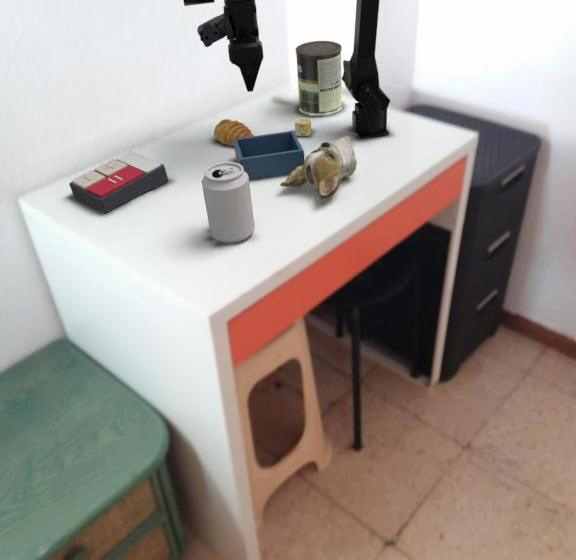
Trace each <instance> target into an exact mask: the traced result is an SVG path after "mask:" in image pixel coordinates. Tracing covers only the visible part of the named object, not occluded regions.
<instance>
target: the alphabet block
mask: <svg viewBox="0 0 576 560" xmlns="http://www.w3.org/2000/svg"><path fill="white" fill-rule="evenodd" d="M294 133H295V134H296V136H297V137H298V136H299V137H310V136H311V133H312V118H299V117H298V118H296V120H295V122H294Z"/></svg>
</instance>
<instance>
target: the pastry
mask: <svg viewBox="0 0 576 560" xmlns="http://www.w3.org/2000/svg"><path fill="white" fill-rule="evenodd" d="M213 136H214V138H215V139H216V140H217V141H218V142H220V143H221V144H223V145H226V146H227V145H228V146H230V147H234V139H238V138H245V137H252V136H254V134H253V133H252V131H251V129H250V128H249V127H248V126H246V125H245V124H244V123H243V122H240V121H238V120H231V119H228V118H227V119H226V118H225V119H221V120H220V121H219V122H218V123H217V124H216V125H215V127H214V129H213Z"/></svg>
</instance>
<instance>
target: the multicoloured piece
mask: <svg viewBox="0 0 576 560" xmlns="http://www.w3.org/2000/svg"><path fill="white" fill-rule="evenodd" d="M166 170H167V169H166V167H165V164H162V163H161V162H158V161H155V160H153V159H152V158H149V157H147V156H144V155H141V154H139V153H136V152H134V151H128V152H126V153H124V154H122V155H120V156H118V157H117V158H113V159H111V160H108V161H107V162H104V163H103V164H101V165H99V166H97V167H95V168H94V170H93V169H91V170H89V171H86V172H85V173H83V174H81V175H78V176H77V177H75V178H73V179H71V182H69V188H70V189H71V192H72V195H73V197H74V198H75V199H77V200H79V201H81V202H83V203H85V204H86V205H89V206H91V207H92V208H94V209H96V210H98V211H100V212H102V213H104V214H108V213H109V212H111V211H113V210H115V209H116V208H118V207H120V206H122V205H124V204H125V203H127V202H129V201H130V200H132V199H134V198H136V197H137V196H139V195H141V194H143V193H144V192H147V191H148V190H155V189H158V188H159V187H161V186H163V185H165V184H167V183H168V182H169V178H168V174H167V171H166Z"/></svg>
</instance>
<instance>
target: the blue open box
mask: <svg viewBox="0 0 576 560" xmlns="http://www.w3.org/2000/svg"><path fill="white" fill-rule="evenodd" d="M233 147H234V154H235V161H236V163H238V164H240V165H241V166H243V169H244V170H243V171H245V172H246V173H247V174H248V177H249V181H254V180H261V179H268V178H274V177H275V178H276V177H281V176H290V174H291V172H292V171H293V170H295V169H296V168H297V167H298V166H302V165H303V164H304V161H305V149H304V148H303V146H302V144H301V143H300V140H299V138H298V136H296V134H295V130H287V131H281V132H274V133H267V134H259V135H253V136H252V137H245V138H238V139H234V146H233Z"/></svg>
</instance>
